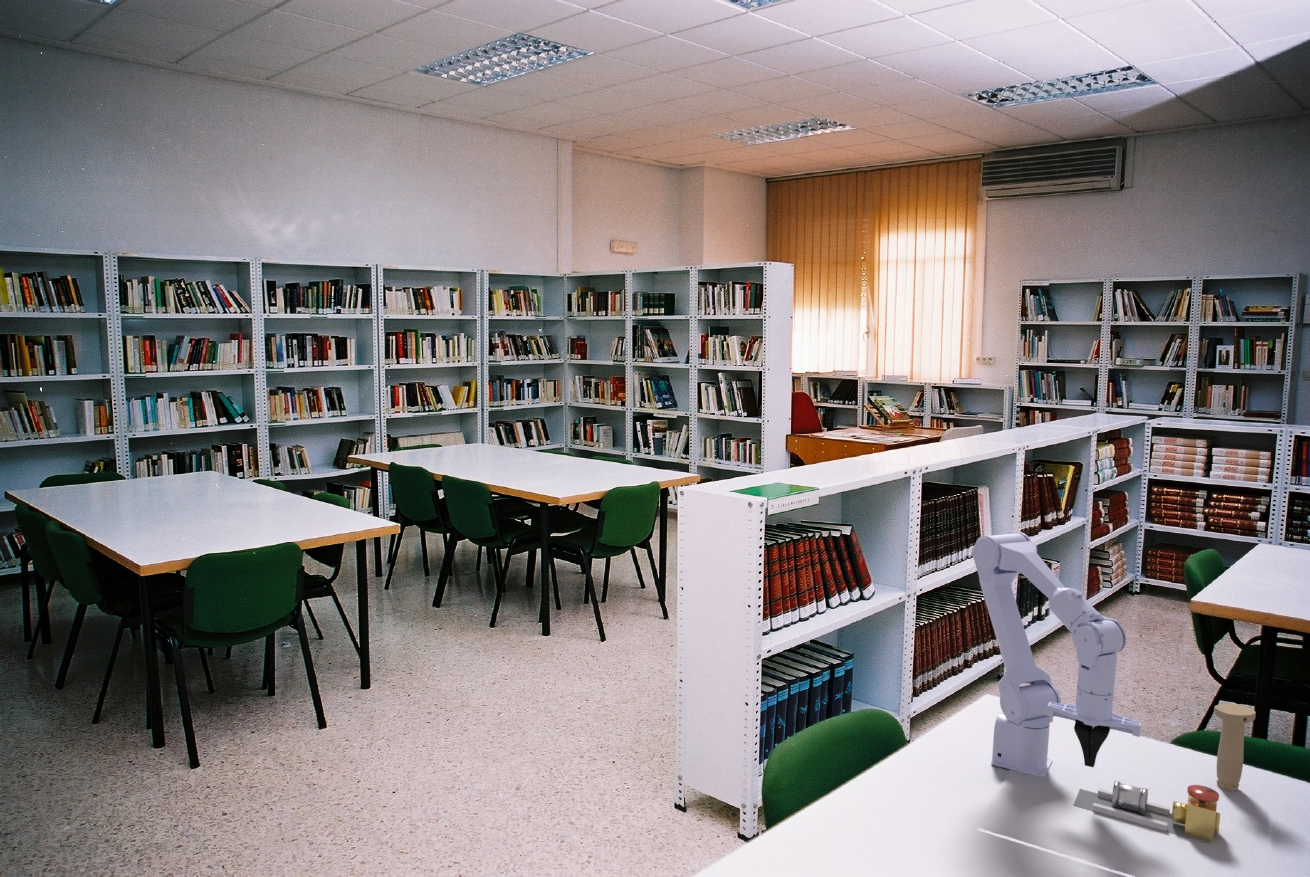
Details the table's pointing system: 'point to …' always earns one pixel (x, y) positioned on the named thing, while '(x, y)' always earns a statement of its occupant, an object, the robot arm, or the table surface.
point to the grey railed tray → (1132, 812)
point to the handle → (1231, 743)
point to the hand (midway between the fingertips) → (1089, 764)
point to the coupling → (1129, 797)
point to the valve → (1198, 812)
